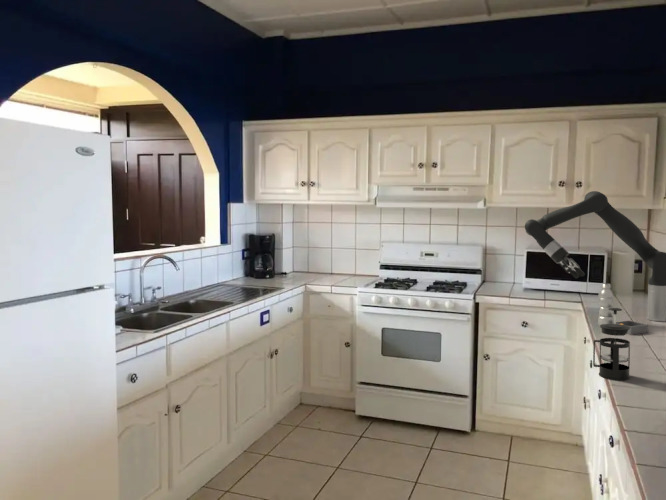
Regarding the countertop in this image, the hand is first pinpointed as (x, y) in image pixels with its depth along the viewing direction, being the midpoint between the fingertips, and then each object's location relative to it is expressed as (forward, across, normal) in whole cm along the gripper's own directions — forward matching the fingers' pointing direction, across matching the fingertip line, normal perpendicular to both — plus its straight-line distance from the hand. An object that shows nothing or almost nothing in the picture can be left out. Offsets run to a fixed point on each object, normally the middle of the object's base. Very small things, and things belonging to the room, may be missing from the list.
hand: (580, 276), depth 268 cm
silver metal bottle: (+24, 0, +8) cm, 26 cm away
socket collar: (+32, -5, 0) cm, 32 cm away
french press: (+39, -78, -7) cm, 88 cm away
